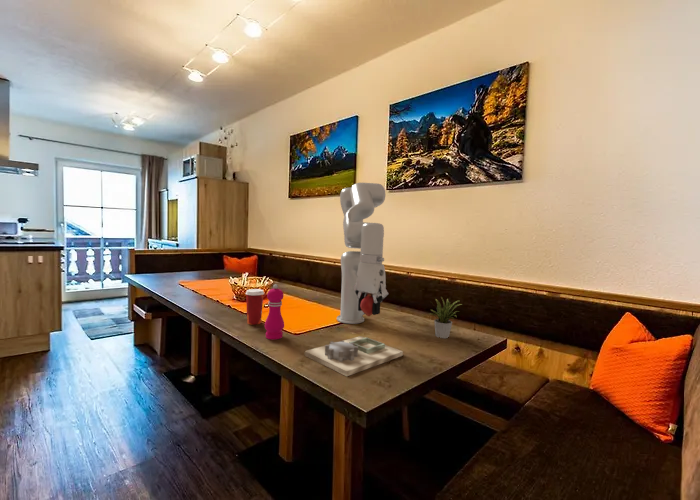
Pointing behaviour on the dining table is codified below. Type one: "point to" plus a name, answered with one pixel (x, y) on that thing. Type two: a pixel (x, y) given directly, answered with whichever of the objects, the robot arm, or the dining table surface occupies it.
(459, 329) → the dining table surface
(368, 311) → the onion
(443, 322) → the house plant
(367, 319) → the dining table surface
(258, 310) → the paper cup
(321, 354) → the gear board
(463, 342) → the dining table surface
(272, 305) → the pepper mill
